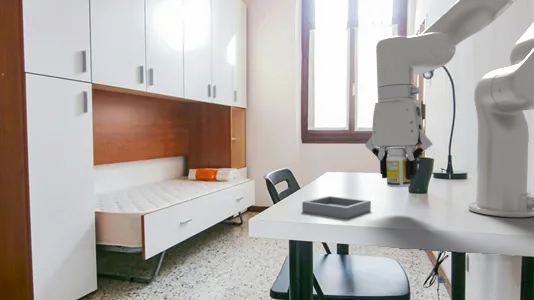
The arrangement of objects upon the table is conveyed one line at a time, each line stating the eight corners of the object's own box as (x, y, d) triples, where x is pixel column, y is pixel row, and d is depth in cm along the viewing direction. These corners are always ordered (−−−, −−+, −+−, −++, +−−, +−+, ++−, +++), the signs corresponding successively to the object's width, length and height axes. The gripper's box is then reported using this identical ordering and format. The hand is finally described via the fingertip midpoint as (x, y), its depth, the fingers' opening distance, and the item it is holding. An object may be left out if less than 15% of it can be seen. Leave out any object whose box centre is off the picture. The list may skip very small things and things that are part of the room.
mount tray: (370, 210, 86) (370, 201, 86) (346, 218, 78) (346, 208, 78) (328, 204, 93) (328, 196, 93) (302, 211, 85) (302, 201, 85)
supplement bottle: (406, 184, 86) (405, 147, 86) (412, 187, 81) (411, 148, 81) (385, 185, 86) (383, 148, 86) (389, 188, 82) (388, 149, 81)
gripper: (441, 92, 80) (444, 177, 81) (367, 99, 92) (369, 175, 92) (430, 89, 75) (432, 182, 75) (352, 98, 86) (355, 178, 87)
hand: (398, 177), depth 84 cm, fingers closed on supplement bottle, 4 cm apart
